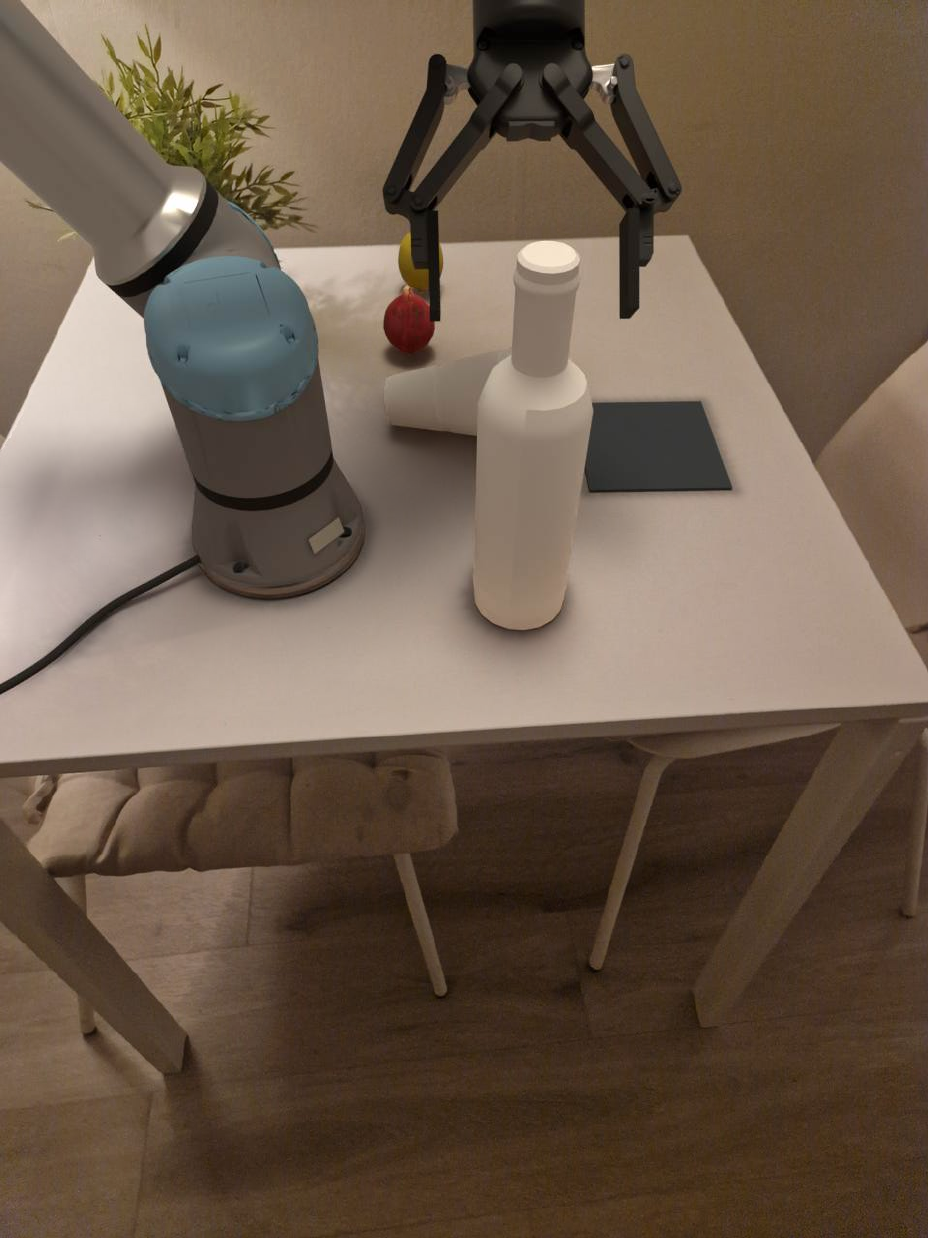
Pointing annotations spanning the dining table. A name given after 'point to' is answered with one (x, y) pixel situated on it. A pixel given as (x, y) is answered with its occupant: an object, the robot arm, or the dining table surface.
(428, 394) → the cup
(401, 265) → the lemon
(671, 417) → the mat
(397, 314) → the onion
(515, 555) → the bottle
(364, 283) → the dining table surface
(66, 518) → the dining table surface
